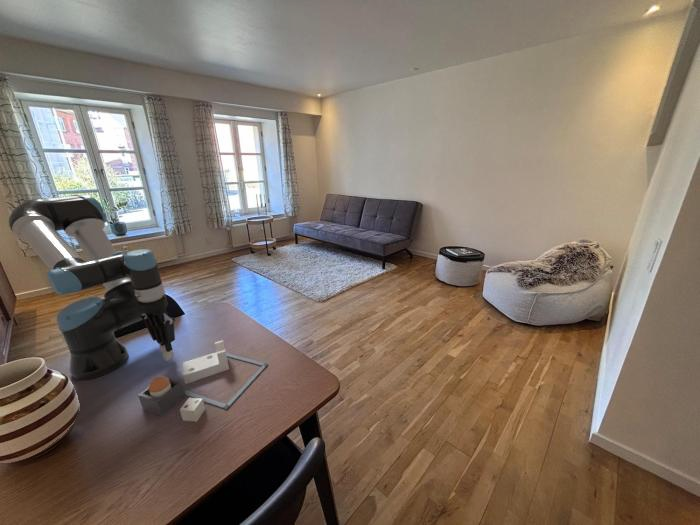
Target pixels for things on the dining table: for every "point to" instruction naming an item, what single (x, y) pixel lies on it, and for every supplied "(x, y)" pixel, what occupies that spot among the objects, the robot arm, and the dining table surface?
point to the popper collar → (162, 398)
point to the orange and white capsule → (159, 386)
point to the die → (192, 409)
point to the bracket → (206, 364)
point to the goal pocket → (226, 406)
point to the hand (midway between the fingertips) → (169, 357)
